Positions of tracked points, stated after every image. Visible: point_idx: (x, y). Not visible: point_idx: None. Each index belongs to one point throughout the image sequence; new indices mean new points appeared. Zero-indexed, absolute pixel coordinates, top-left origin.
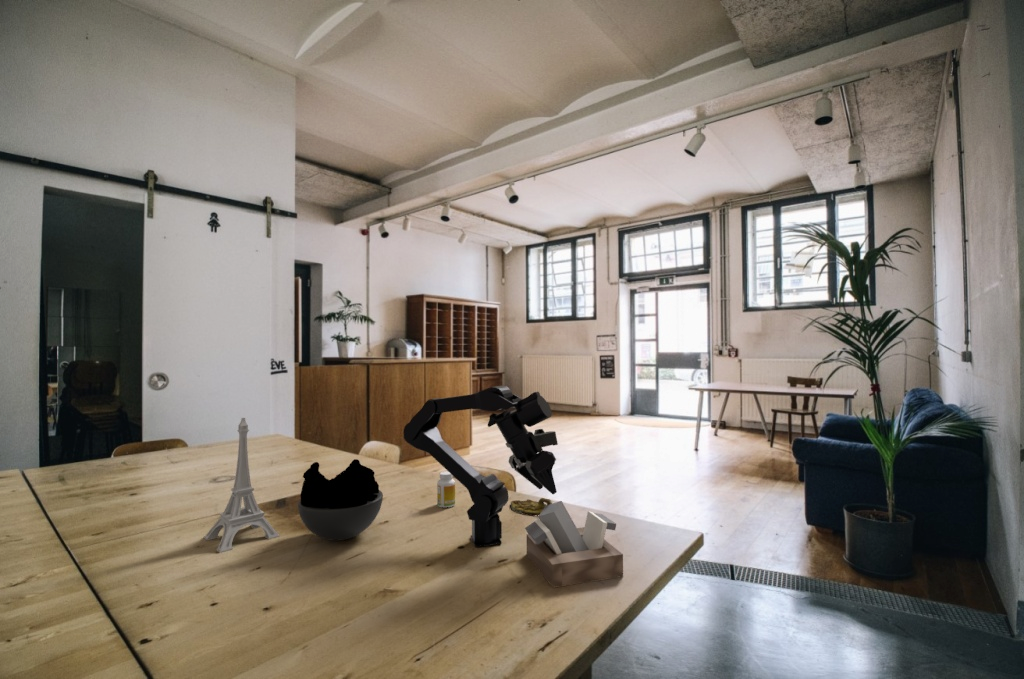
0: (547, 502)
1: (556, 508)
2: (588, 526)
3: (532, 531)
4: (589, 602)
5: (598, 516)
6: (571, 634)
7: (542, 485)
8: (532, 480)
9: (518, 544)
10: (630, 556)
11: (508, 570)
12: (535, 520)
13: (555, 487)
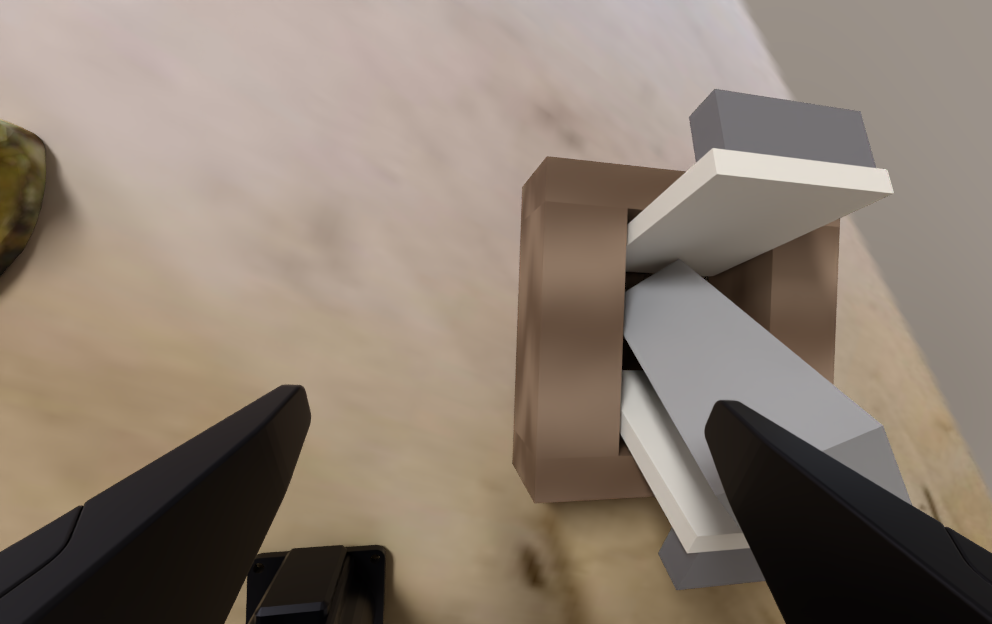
0: None
1: (904, 487)
2: (702, 219)
3: (757, 573)
4: (849, 383)
5: (790, 156)
6: (938, 485)
7: (786, 616)
8: (236, 566)
9: (406, 468)
10: (656, 91)
11: (613, 563)
12: (700, 546)
13: (785, 431)
